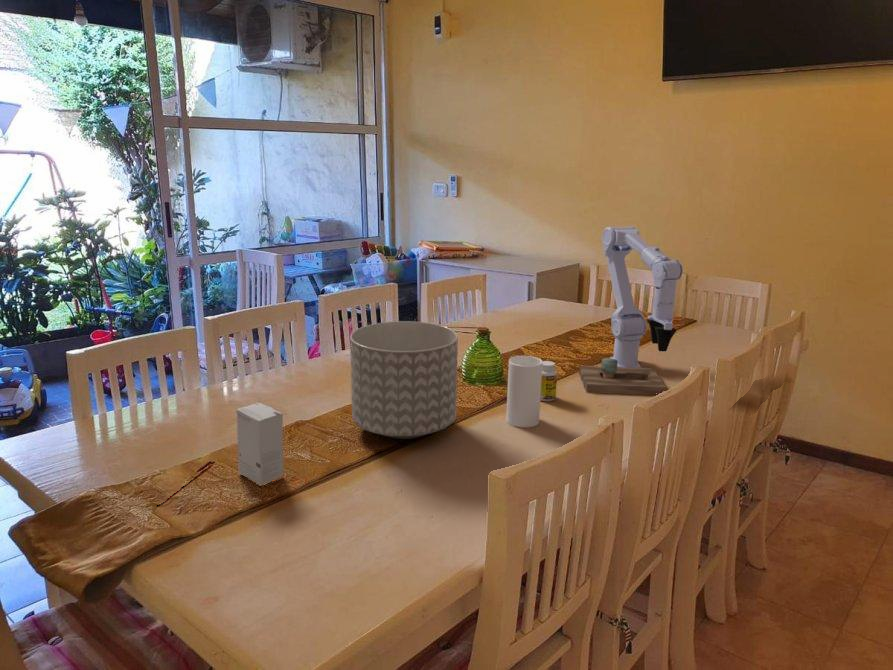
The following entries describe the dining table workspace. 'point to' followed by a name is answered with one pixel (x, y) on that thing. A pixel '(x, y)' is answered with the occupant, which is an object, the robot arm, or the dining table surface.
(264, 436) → the skincare box
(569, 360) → the dining table surface
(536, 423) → the cup
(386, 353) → the planter
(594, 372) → the keyhole board
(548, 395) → the supplement bottle
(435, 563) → the dining table surface
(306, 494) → the dining table surface
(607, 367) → the peg
